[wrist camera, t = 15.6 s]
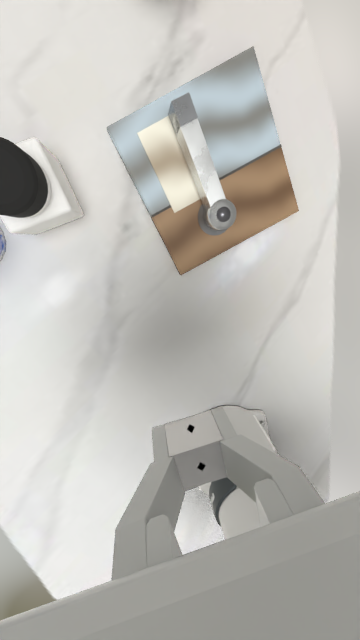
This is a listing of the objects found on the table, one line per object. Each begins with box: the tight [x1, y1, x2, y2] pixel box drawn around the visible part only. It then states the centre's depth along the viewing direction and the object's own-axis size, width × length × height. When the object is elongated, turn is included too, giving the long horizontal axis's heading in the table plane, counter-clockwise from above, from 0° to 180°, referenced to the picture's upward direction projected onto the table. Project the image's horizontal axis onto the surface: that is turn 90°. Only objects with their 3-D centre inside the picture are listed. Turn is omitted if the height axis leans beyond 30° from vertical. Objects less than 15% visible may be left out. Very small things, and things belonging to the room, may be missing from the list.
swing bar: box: [168, 92, 236, 230], centre depth 30 cm, size 15×4×3 cm, turn 25°
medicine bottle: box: [0, 137, 84, 235], centre depth 25 cm, size 7×7×12 cm
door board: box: [107, 47, 299, 275], centre depth 33 cm, size 20×20×1 cm
